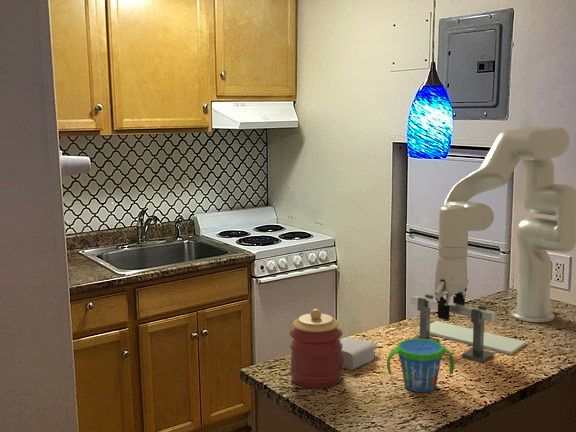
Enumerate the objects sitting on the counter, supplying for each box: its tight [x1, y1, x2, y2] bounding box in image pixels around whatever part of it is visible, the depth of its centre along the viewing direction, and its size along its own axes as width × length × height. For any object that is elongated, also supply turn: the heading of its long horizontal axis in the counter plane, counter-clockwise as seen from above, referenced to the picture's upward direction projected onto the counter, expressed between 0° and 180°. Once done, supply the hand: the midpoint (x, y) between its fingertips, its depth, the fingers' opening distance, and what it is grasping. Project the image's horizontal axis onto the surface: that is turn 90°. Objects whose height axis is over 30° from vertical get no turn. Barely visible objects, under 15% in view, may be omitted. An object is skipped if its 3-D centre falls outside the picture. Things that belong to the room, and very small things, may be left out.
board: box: [418, 320, 527, 355], centre depth 181 cm, size 10×28×1 cm, turn 47°
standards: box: [412, 294, 495, 364], centre depth 172 cm, size 6×22×14 cm, turn 48°
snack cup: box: [386, 338, 455, 393], centre depth 149 cm, size 16×10×10 cm
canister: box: [289, 308, 344, 389], centre depth 155 cm, size 13×13×18 cm
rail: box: [410, 294, 497, 322], centre depth 171 cm, size 2×24×2 cm, turn 48°
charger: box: [341, 337, 379, 371], centre depth 168 cm, size 5×9×15 cm
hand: (451, 314), depth 171 cm, fingers open, 7 cm apart
